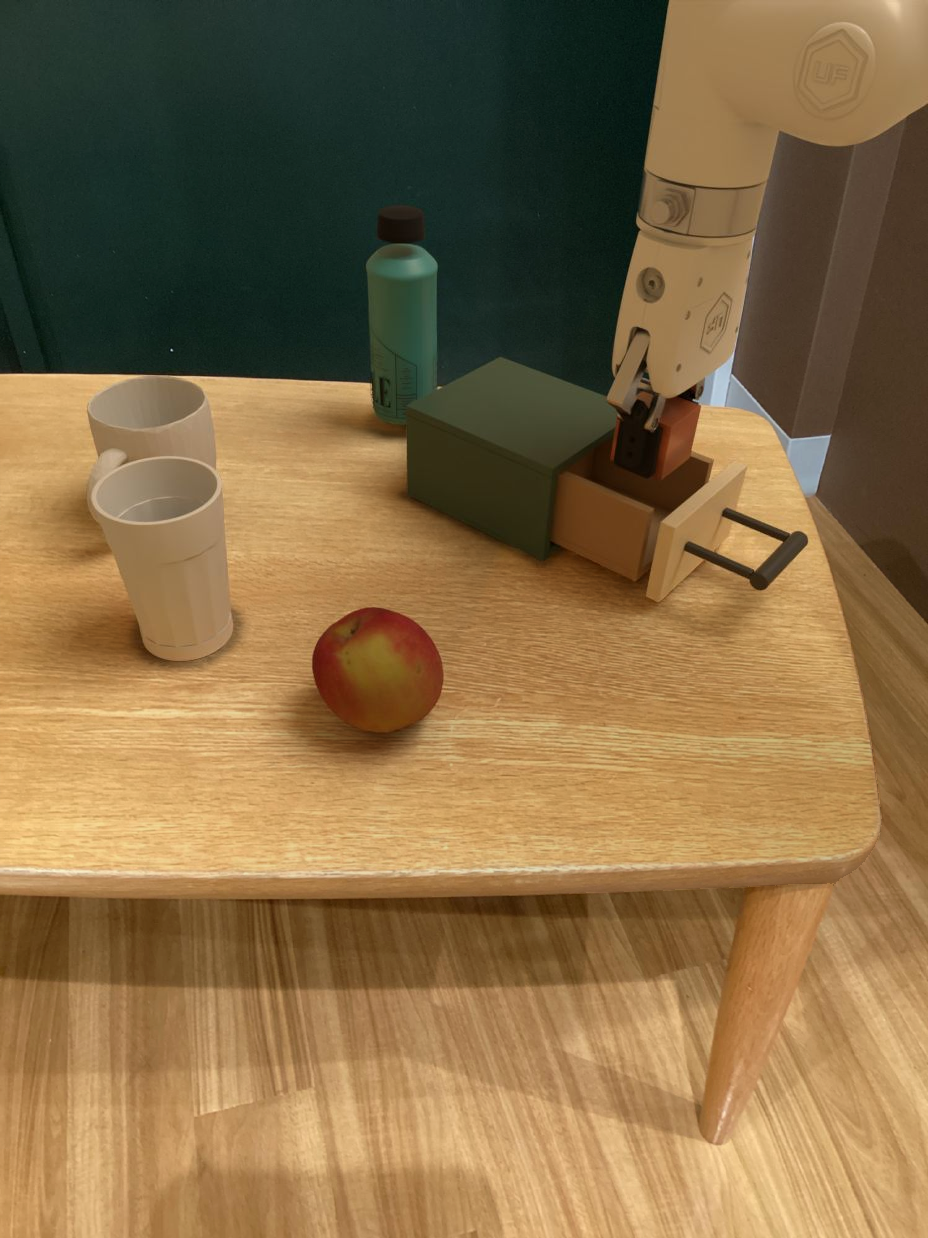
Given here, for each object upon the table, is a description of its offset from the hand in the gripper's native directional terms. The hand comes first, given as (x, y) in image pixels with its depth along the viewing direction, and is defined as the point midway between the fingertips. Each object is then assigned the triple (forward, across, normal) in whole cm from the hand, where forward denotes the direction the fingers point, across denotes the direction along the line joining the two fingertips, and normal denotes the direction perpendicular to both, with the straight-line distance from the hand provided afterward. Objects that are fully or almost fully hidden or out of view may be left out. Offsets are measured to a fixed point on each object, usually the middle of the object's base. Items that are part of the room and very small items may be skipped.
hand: (651, 454), depth 70 cm
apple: (+9, -27, +3) cm, 29 cm away
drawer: (+8, 0, -2) cm, 8 cm away
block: (0, 0, 0) cm, 0 cm away
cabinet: (+9, 0, +12) cm, 15 cm away
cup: (+9, -30, +19) cm, 37 cm away
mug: (+9, -23, +32) cm, 40 cm away
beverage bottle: (+9, +3, +28) cm, 30 cm away
